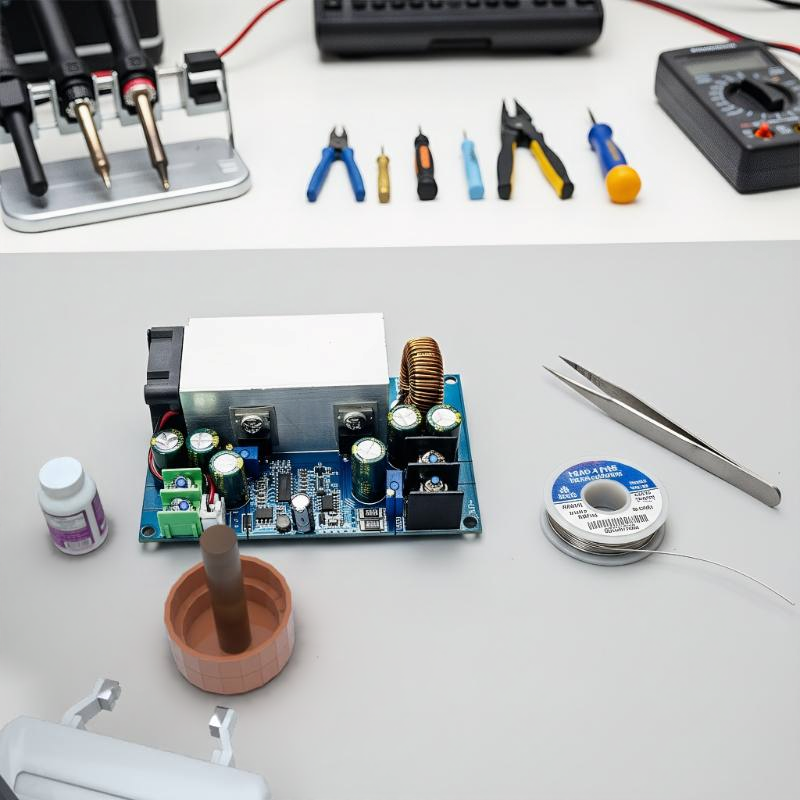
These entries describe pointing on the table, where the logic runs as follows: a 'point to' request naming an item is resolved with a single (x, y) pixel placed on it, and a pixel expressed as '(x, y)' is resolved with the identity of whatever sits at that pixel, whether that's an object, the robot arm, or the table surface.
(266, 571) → the bowl
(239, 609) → the stirring stick
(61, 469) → the pill bottle
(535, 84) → the table surface
